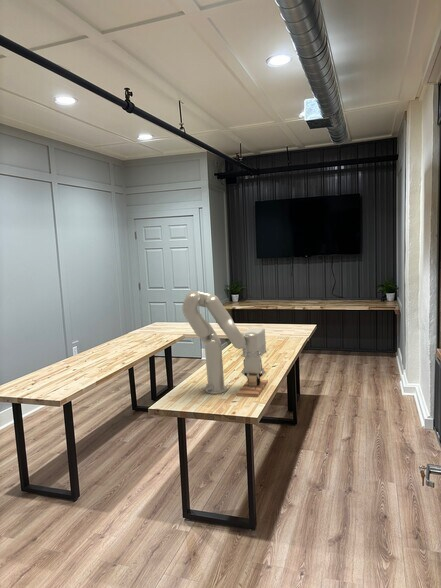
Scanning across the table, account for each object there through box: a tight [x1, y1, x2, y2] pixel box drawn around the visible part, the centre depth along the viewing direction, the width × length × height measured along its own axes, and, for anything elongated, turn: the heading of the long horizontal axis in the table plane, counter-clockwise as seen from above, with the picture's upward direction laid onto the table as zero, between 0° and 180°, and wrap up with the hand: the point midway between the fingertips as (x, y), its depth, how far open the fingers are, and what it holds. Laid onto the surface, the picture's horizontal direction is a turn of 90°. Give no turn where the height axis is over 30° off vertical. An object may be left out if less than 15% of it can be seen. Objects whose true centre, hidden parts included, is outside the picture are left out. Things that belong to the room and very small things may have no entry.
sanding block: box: [247, 373, 257, 387], centre depth 246 cm, size 7×4×6 cm, turn 161°
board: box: [236, 379, 269, 398], centre depth 244 cm, size 24×12×2 cm, turn 161°
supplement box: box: [241, 328, 267, 358], centre depth 318 cm, size 17×13×18 cm
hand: (254, 383), depth 247 cm, fingers closed on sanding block, 4 cm apart
